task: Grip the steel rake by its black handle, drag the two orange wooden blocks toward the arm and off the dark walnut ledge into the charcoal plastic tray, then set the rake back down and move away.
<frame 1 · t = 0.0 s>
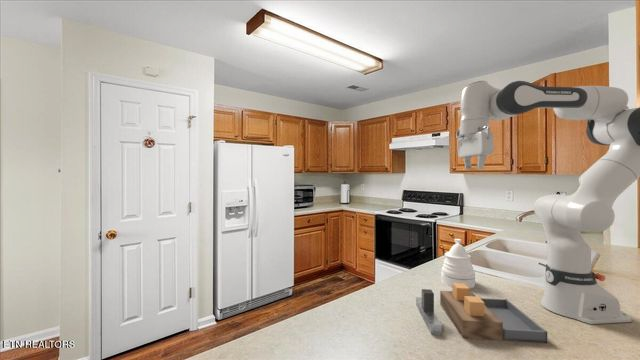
hand: (474, 169, 97), 48 cm above the counter, tool pointing down, fingers open, 8 cm apart
honey pot: (457, 282, 119), on the counter
block a: (460, 297, 93), point 5 cm above the counter, touching ledge
ledge: (467, 320, 88), on the counter
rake: (427, 319, 89), on the counter
tray: (504, 322, 86), on the counter
block b: (473, 312, 83), point 5 cm above the counter, touching ledge
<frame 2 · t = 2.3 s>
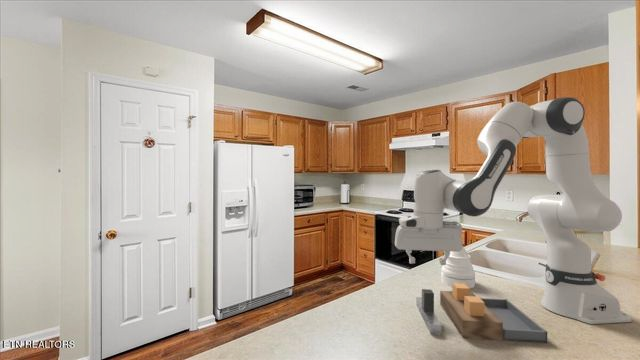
hand: (427, 263, 89), 18 cm above the counter, tool pointing down, fingers open, 8 cm apart
nothing on the counter moved.
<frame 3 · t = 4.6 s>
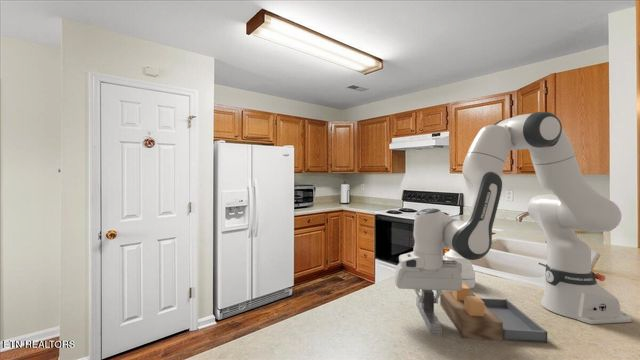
hand: (427, 302, 89), 5 cm above the counter, tool pointing down, fingers closed on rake, 3 cm apart
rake: (427, 318, 89), on the counter, touching gripper
everything else where it was.
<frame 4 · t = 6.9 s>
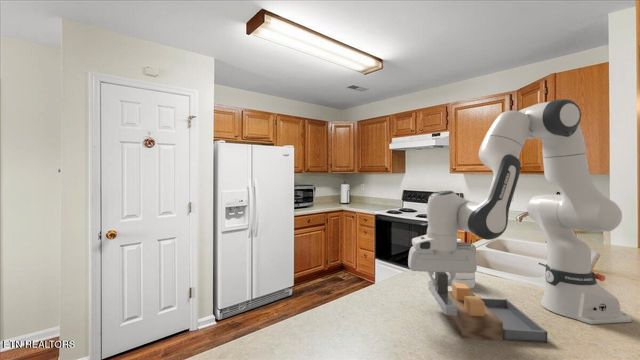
hand: (441, 285, 88), 11 cm above the counter, tool pointing down, fingers closed on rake, 3 cm apart
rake: (441, 301, 88), point 6 cm above the counter, touching gripper
everything else where it was.
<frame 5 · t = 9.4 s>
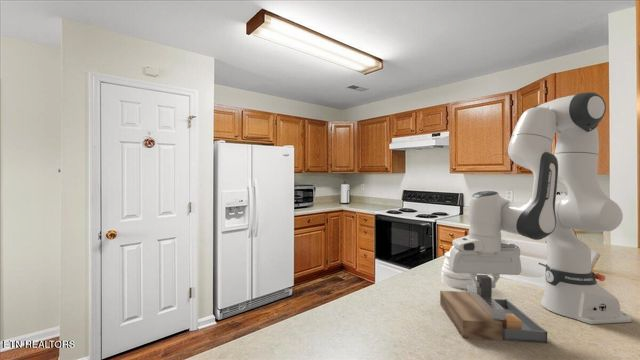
hand: (484, 287, 87), 11 cm above the counter, tool pointing down, fingers closed on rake, 3 cm apart
block a: (481, 305, 92), point 3 cm above the counter, tilted 90°, touching tray
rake: (484, 304, 87), point 5 cm above the counter, touching gripper
block b: (502, 323, 81), point 3 cm above the counter, tilted 90°, touching tray
everything else where it was.
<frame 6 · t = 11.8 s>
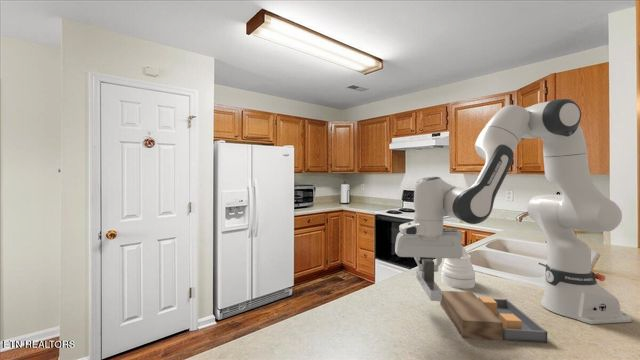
hand: (427, 270, 89), 15 cm above the counter, tool pointing down, fingers closed on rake, 3 cm apart
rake: (427, 288, 89), point 10 cm above the counter, touching gripper
everything else where it was.
when the fingers open (6 cm above the counter, at t = 13.6 s): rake stays where it is, on the counter.
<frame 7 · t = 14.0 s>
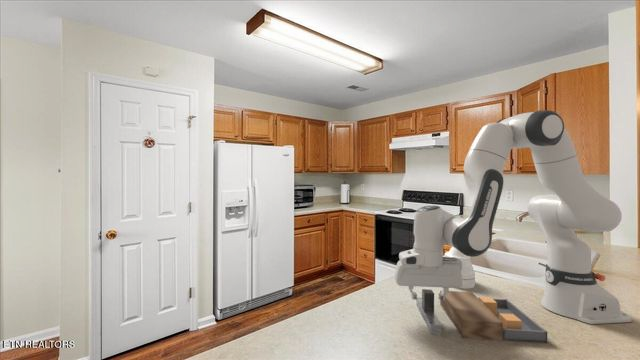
hand: (427, 299, 89), 6 cm above the counter, tool pointing down, fingers open, 7 cm apart
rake: (427, 319, 89), on the counter
everything else where it was.
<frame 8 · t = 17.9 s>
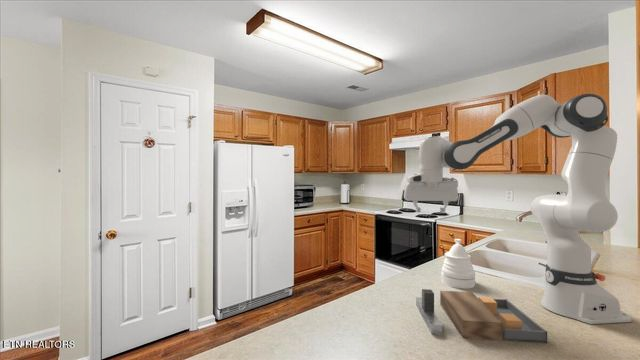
hand: (430, 212, 110), 31 cm above the counter, tool pointing down, fingers open, 8 cm apart
nothing on the counter moved.
at the end: block a inside the target area on the tray (7.1 cm from its centre), point 2.6 cm above the tray's base; block b inside the target area on the tray (6.9 cm from its centre), point 2.6 cm above the tray's base; the gripper is holding nothing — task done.
